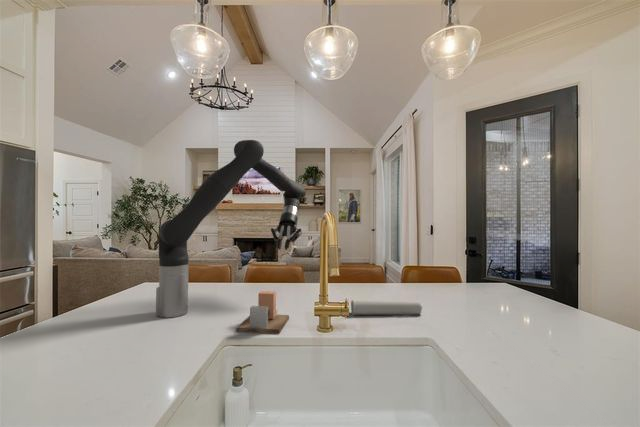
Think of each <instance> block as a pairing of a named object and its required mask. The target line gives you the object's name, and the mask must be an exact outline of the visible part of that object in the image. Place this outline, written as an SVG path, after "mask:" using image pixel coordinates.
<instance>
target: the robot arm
mask: <svg viewBox="0 0 640 427" xmlns="http://www.w3.org/2000/svg"><path fill="white" fill-rule="evenodd" d="M264 150H265V149H264V146H263V144H262V143H261V142H260V141H259V140H255V139H243V140H239V141H237V142H236V144H235V145H234V146H233V154H234V156H235V157H234V158H233V159H232V160H231V161H230V162H228V163H227V164H226V165H224V166H222V167H221V168H219V169H218V170H215V171H214V172H213V173H212V174H210V176H208V177H207V178H206V180H205V181H203V183H202V184H201V185H200V186H199V187H198V189H197V190H196V191H195V193H194V195H193V196H192V198H191V199H190V201H189V202H188V204H187V205H186V206H185V207H184V208H183V209H182V210H181V211H180V212H179V213H178V214H176V215H175V216H174V217H172V218H171V219H168V220H165V221H164V222H163V223H162V224H161V226H160V227H159V231H158V259H159V266H158V267H159V268H158V269H159V272H158V277H159V278H158V280H159V281H158V282H159V283H158V287H156V289H155V292H156V293H155V316H158V317H161V318H166V319H167V318H176V317H181V316H184V315H186V314H187V313H188V312H189V310H188V308H189V255H188V254H189V253H188V240H189V239H190V238H191V237H192V235H193V234H194V232H195V231H196V229H197V228H199V225H200V224H201V223H202V221H203V220H204V219H205V218H206V217H207V216H208V215H209V214H210V213H211V212H212V211H213V210H214V209H215V208H216V207H217V206H218V205H219V204H220V203H221V202H222V201H223V200H224V199H225V197H227V195H229V193H230V192H231V191H232V189H234V187H235V186H236V185H237V184H238V183H239V182H240V181H241V180H242V179H243V177H244V176H245V175H246V174H247V173H248V172H249V171H250V170H251V169H252V170H254V171H255V172H257V173H258V174H260V176H261V177H264V178H265V179H266V180H267V181H268V182H269V183H270V184H272V185H273V186H274V187H275V188H276V189H278V191H280V192H283V201H284V205H283V209H282V210H281V211H282V212H281V215H280V217H279V222H278V226H277V227H276V228H270V231H271V234H272V238H273V239H274V242H277V243H276V248H277V249H278V251H279V250H281V249H282V245H283V240H284V238H285V237H286V239H285V243H284V250H286V251H287V250H288V249H289V248H290V245H291V243H295V242H296V241H297V240H298V239H299V238H300V236H301V235H302V234H303V233H302V229H301V228H298V227H297V225H298V220H299V211H300V206H301V205H300V200H301V199H303V198H305V197H306V188H304V186H303V185H302V184H301V183H299V182H297V181H295V180H293V179H290V178H289V177H288V176H287V175H286V174H284V172H283V171H282V170H280V169H278V168H277V167H276V166H274V165H272V164H270V163H269V162H267V161H266V160H265V159H264V158H263V156H264ZM277 234H278V236H277Z"/></svg>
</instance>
